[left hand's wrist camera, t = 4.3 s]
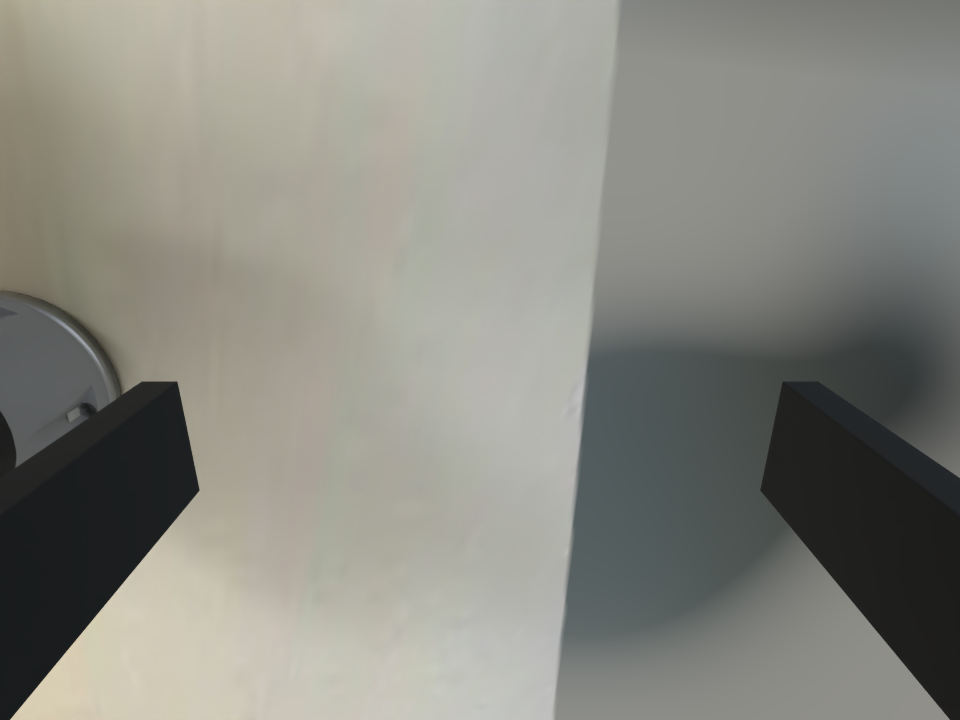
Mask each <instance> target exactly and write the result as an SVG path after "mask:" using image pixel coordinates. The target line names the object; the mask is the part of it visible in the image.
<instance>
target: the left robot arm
mask: <svg viewBox="0 0 960 720" xmlns="http://www.w3.org/2000/svg"><path fill="white" fill-rule="evenodd" d="M199 491H200V490H199V485H198V480H197V475H196V470H195V466H194V461H193V456H192V451H191V446H190V441H189V436H188V431H187V427H186V422H185V417H184V412H183V407H182V402H181V397H180V392H179V387H178V383H177V382H141V383H139V384H138V385H136V386H135V387H133V388H132V389H130V390H129V391H127V392H126V393H125V394H123V395H122V396H121V391H120V386H119V382H118V379H117V376H116V373H115V371H114V368H113V366H112V364H111V362H110V360H109V359H108V357H107V355H106V354H105V352H104V351H103V349H102V348H101V346H100V345H99V344H98V342H97V341H96V340H95V339H94V338H93V337H92V336H91V334H90V333H89V332H88V331H87V330H86V329H85V328H83V327H82V326H81V325H80V324H79V323H78V322H76V321H75V320H74V319H73V318H71V317H70V316H68V315H67V314H66V313H64V312H63V311H61V310H59V309H57V308H56V307H54V306H52V305H50V304H48V303H46V302H44V301H41V300H39V299H36V298H34V297H30V296H27V295H24V294H19V293H15V292H8V291H0V720H10V719H11V718H12V717H13V715H14V714H15V713H16V712H17V711H18V709H19V708H20V707H21V706H22V705H23V703H24V702H25V701H26V700H27V698H28V697H29V696H30V695H31V694H32V692H33V691H34V690H35V689H36V688H37V686H38V685H39V684H40V683H41V682H42V680H43V679H44V678H45V677H46V675H47V674H48V673H49V672H50V671H51V669H52V668H53V667H54V666H55V665H56V663H57V662H58V661H59V660H60V659H61V657H62V656H63V655H64V654H65V653H66V651H67V650H68V649H69V648H70V646H71V645H72V644H73V643H74V642H75V640H76V639H77V638H78V637H79V636H80V634H81V633H82V632H83V631H84V630H85V628H86V627H87V626H88V625H89V624H90V622H91V621H92V620H93V619H94V617H95V616H96V615H97V614H98V613H99V611H100V610H101V609H102V608H103V607H104V605H105V604H106V603H107V602H108V601H109V599H110V598H111V597H112V596H113V594H114V593H115V592H116V591H117V590H118V588H119V587H120V586H121V585H122V584H123V582H124V581H125V580H126V579H127V578H128V576H129V575H130V574H131V573H132V572H133V570H134V569H135V568H136V567H137V565H138V564H139V563H140V562H141V561H142V559H143V558H144V557H145V556H146V555H147V553H148V552H149V551H150V550H151V549H152V547H153V546H154V545H155V544H156V542H157V541H158V540H159V539H160V538H161V536H162V535H163V534H164V533H165V532H166V530H167V529H168V528H169V527H170V526H171V524H172V523H173V522H174V521H175V520H176V518H177V517H178V516H179V515H180V513H181V512H182V511H183V510H184V509H185V507H186V506H187V505H188V504H189V503H190V501H191V500H192V499H193V498H194V497H195V495H196V494H197V493H198V492H199ZM761 492H762V493H763V494H764V495H765V497H766V498H767V499H768V500H769V501H770V503H771V504H772V505H773V506H774V507H775V509H776V510H777V511H778V512H779V513H780V515H781V516H782V517H783V518H784V520H785V521H786V522H787V523H788V524H789V526H790V527H791V528H792V529H793V530H794V532H795V533H796V534H797V535H798V536H799V538H800V539H801V540H802V541H803V542H804V544H805V545H806V546H807V547H808V549H809V550H810V551H811V552H812V553H813V555H814V556H815V557H816V558H817V559H818V561H819V562H820V563H821V564H822V565H823V567H824V568H825V569H826V570H827V572H828V573H829V574H830V575H831V576H832V578H833V579H834V580H835V581H836V582H837V584H838V585H839V586H840V587H841V588H842V590H843V591H844V592H845V593H846V594H847V596H848V597H849V598H850V599H851V601H852V602H853V603H854V604H855V605H856V607H857V608H858V609H859V610H860V611H861V613H862V614H863V615H864V616H865V617H866V619H867V620H868V621H869V622H870V623H871V625H872V626H873V627H874V628H875V630H876V631H877V632H878V633H879V634H880V636H881V637H882V638H883V639H884V640H885V642H886V643H887V644H888V645H889V646H890V648H891V649H892V650H893V651H894V652H895V654H896V655H897V656H898V657H899V659H900V660H901V661H902V662H903V663H904V665H905V666H906V667H907V668H908V669H909V671H910V672H911V673H912V674H913V675H914V677H915V678H916V679H917V680H918V681H919V683H920V684H921V685H922V686H923V688H924V689H925V690H926V691H927V692H928V694H929V695H930V696H931V697H932V698H933V700H934V701H935V702H936V703H937V705H938V706H939V707H940V708H941V709H942V711H943V712H944V713H945V714H946V715H947V717H948V718H949V719H950V720H960V478H959V477H957V476H956V475H954V474H953V473H951V472H950V471H949V470H947V469H946V468H944V467H943V466H941V465H940V464H938V463H937V462H935V461H934V460H932V459H931V458H929V457H928V456H926V455H925V454H924V453H922V452H921V451H919V450H918V449H916V448H915V447H913V446H912V445H910V444H909V443H907V442H906V441H904V440H903V439H901V438H900V437H899V436H897V435H896V434H894V433H893V432H891V431H890V430H888V429H887V428H885V427H884V426H882V425H881V424H879V423H878V422H877V421H875V420H874V419H872V418H871V417H869V416H868V415H866V414H865V413H863V412H862V411H860V410H859V409H857V408H856V407H855V406H853V405H852V404H850V403H849V402H847V401H846V400H844V399H843V398H841V397H840V396H838V395H837V394H835V393H834V392H832V391H831V390H830V389H828V388H827V387H825V386H824V385H822V384H821V383H819V382H783V383H782V387H781V392H780V397H779V402H778V407H777V412H776V417H775V422H774V427H773V432H772V436H771V441H770V446H769V451H768V456H767V461H766V466H765V470H764V476H763V480H762V485H761Z"/></svg>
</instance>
